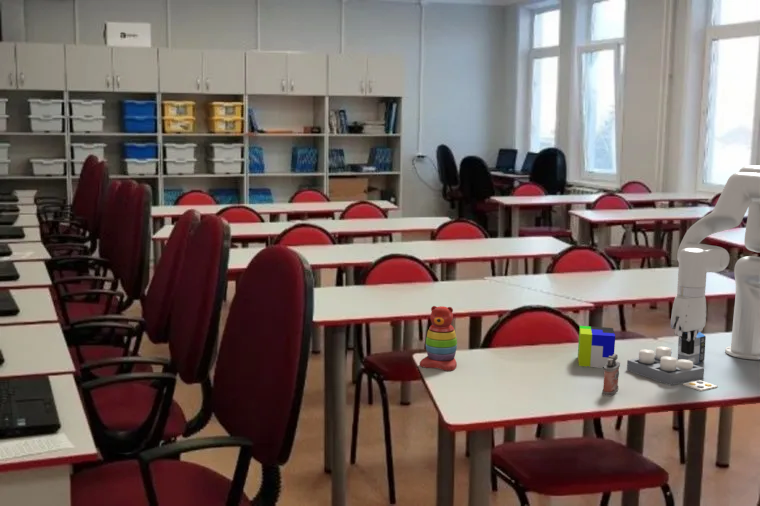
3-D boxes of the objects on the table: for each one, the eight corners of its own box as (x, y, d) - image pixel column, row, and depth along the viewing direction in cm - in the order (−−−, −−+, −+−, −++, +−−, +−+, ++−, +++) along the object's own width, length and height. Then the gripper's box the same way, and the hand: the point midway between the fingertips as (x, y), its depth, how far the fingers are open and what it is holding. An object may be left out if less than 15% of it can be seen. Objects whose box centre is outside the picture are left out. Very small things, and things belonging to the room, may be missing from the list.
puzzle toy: (613, 368, 247) (615, 336, 245) (578, 366, 248) (580, 333, 247) (610, 359, 256) (612, 327, 255) (577, 356, 258) (579, 325, 256)
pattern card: (699, 381, 236) (699, 379, 236) (717, 387, 230) (717, 385, 230) (682, 384, 232) (683, 383, 232) (700, 391, 227) (700, 389, 227)
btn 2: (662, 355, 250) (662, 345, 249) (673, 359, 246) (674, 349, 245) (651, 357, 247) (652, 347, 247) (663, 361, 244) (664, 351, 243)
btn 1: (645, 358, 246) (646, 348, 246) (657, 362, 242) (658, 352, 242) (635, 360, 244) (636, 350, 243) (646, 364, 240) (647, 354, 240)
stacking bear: (417, 366, 245) (419, 308, 242) (428, 358, 254) (430, 301, 251) (452, 371, 241) (454, 312, 238) (462, 362, 250) (464, 305, 247)
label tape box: (687, 367, 249) (690, 327, 247) (675, 363, 252) (679, 324, 250) (704, 362, 254) (707, 323, 252) (692, 359, 258) (696, 320, 255)
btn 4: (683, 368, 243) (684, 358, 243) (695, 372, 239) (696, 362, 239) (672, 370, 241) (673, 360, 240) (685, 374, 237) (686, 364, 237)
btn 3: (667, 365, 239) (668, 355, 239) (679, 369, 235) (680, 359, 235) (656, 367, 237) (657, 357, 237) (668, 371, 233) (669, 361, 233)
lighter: (612, 396, 221) (614, 360, 220) (599, 394, 223) (601, 358, 221) (620, 388, 228) (623, 353, 226) (608, 386, 230) (610, 351, 228)
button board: (659, 363, 252) (660, 353, 252) (703, 378, 239) (704, 368, 238) (626, 369, 245) (627, 360, 245) (670, 385, 232) (670, 374, 231)
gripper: (697, 285, 243) (694, 345, 247) (662, 292, 236) (659, 353, 239) (719, 290, 237) (715, 352, 240) (683, 297, 229) (680, 360, 233)
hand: (687, 352), depth 240 cm, fingers closed
